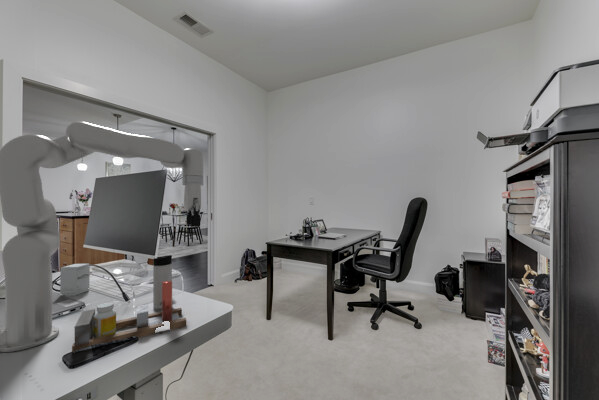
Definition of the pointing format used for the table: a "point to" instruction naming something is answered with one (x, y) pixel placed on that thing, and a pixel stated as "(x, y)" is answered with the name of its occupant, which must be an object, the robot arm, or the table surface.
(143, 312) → the vise slider
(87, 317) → the vise bench
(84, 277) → the supplement box
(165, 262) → the travel mug
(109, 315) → the supplement bottle
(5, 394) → the table surface
